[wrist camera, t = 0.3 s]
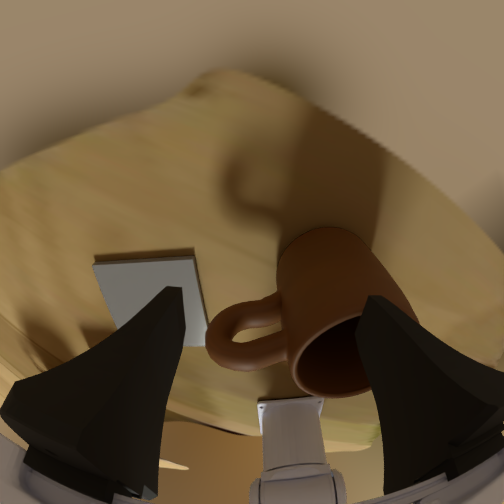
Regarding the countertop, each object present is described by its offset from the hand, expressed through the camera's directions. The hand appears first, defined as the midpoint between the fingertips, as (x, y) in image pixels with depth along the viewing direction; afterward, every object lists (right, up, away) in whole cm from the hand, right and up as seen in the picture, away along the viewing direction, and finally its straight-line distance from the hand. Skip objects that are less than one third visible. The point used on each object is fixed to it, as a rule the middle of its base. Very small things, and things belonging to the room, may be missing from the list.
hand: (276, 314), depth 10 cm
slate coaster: (-9, -2, +12) cm, 16 cm away
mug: (+2, +1, +11) cm, 11 cm away
